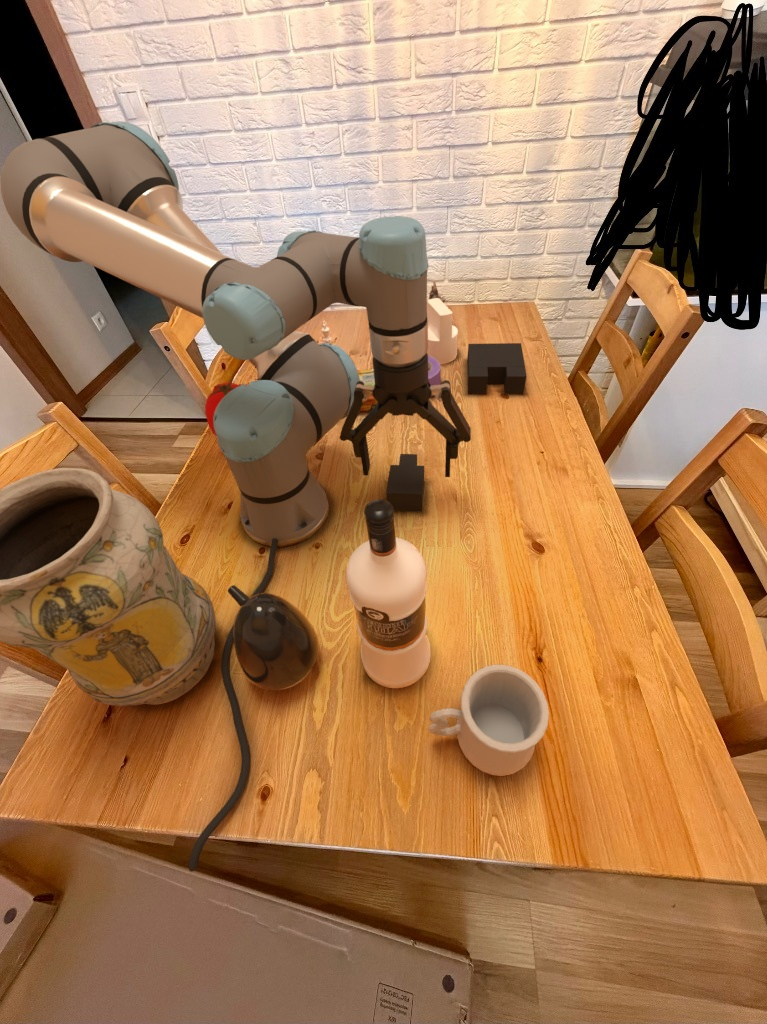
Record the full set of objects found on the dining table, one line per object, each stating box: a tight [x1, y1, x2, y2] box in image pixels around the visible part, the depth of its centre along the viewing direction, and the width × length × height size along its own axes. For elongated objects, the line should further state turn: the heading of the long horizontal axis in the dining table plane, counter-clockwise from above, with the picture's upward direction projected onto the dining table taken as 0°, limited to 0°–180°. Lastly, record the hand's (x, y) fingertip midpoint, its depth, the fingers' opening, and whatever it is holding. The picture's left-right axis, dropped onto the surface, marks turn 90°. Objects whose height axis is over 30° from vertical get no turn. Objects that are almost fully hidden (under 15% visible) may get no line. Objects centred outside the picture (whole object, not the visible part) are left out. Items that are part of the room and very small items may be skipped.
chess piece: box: [321, 320, 332, 343], centre depth 112 cm, size 5×5×10 cm
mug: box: [428, 664, 550, 777], centre depth 51 cm, size 12×9×10 cm
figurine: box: [428, 280, 446, 304], centre depth 118 cm, size 6×6×12 cm
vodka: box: [345, 498, 431, 689], centre depth 51 cm, size 9×9×30 cm
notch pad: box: [466, 342, 528, 395], centre depth 104 cm, size 14×12×4 cm
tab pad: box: [385, 453, 425, 513], centre depth 82 cm, size 10×6×4 cm, turn 174°
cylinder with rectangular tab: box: [427, 298, 459, 365], centre depth 109 cm, size 9×9×12 cm
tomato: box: [204, 377, 243, 438], centre depth 92 cm, size 12×12×13 cm
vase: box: [0, 467, 216, 707], centre depth 53 cm, size 18×18×30 cm
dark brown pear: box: [227, 585, 320, 691], centre depth 57 cm, size 10×10×15 cm
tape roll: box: [428, 356, 442, 398], centre depth 104 cm, size 12×12×5 cm
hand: (406, 470), depth 77 cm, fingers open, 13 cm apart
